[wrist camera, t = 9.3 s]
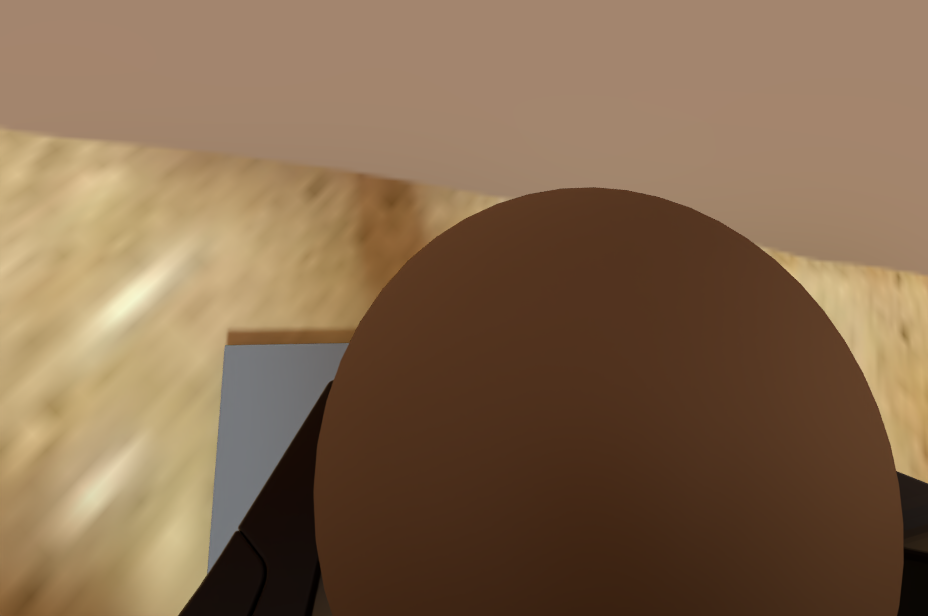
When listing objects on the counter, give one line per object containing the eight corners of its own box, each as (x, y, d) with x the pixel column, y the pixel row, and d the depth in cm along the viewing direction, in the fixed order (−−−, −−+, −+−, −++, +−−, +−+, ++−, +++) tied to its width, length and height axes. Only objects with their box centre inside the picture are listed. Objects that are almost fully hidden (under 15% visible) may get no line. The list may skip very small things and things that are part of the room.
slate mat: (531, 592, 20) (535, 597, 19) (208, 628, 18) (202, 634, 17) (513, 341, 23) (516, 339, 22) (229, 347, 21) (224, 345, 20)
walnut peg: (531, 418, 16) (963, 388, 4) (460, 536, 15) (778, 1030, 3) (426, 344, 16) (537, 93, 4) (347, 456, 15) (155, 577, 3)
